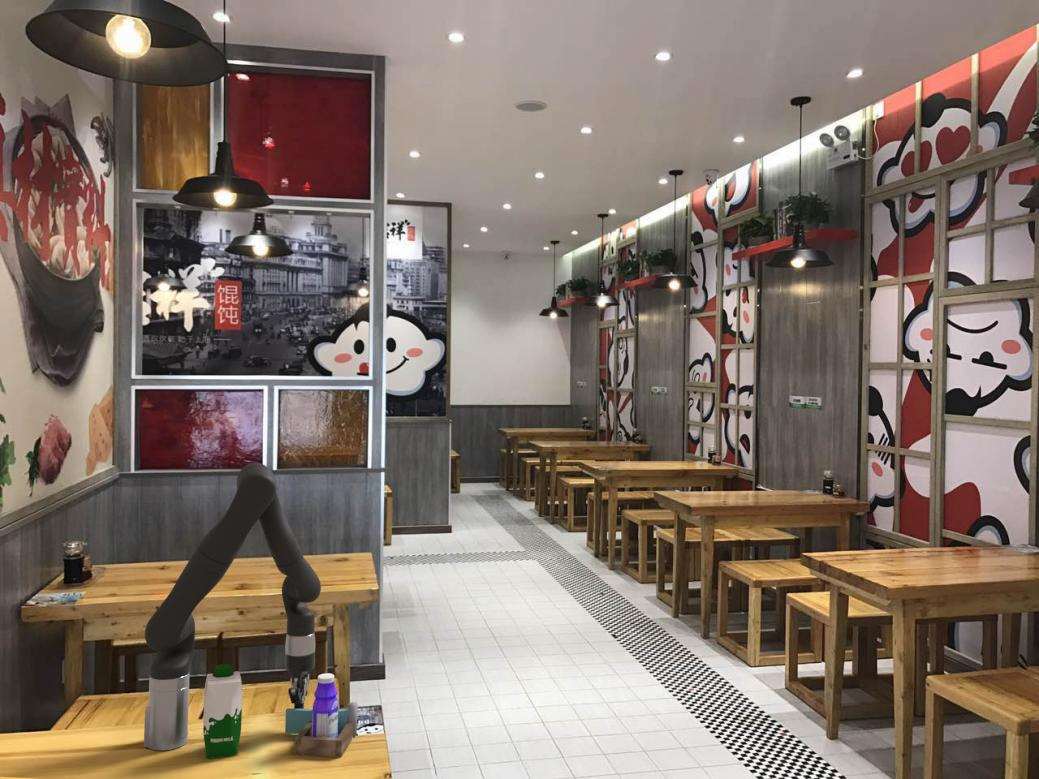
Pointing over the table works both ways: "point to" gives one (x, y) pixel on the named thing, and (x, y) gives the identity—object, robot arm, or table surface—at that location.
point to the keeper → (301, 717)
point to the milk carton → (222, 712)
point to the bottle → (325, 708)
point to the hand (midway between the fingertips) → (298, 716)
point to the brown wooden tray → (322, 742)
